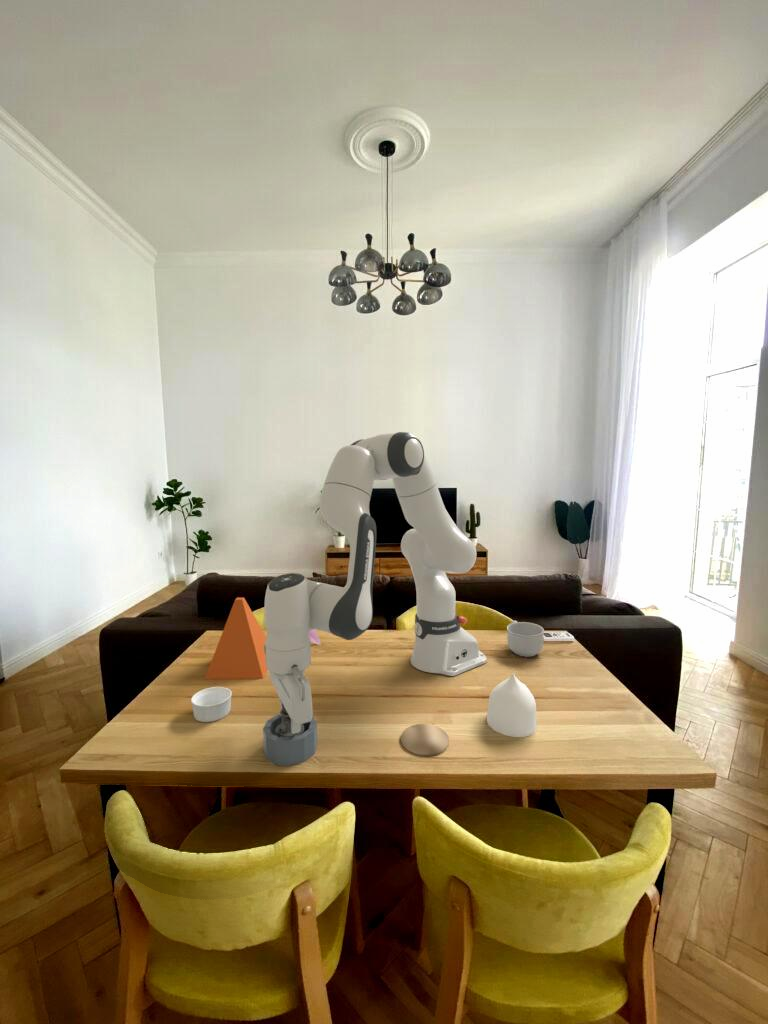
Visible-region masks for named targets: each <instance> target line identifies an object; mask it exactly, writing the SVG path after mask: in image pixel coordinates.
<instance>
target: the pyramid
mask: <svg viewBox="0 0 768 1024" xmlns="http://www.w3.org/2000/svg"><path fill="white" fill-rule="evenodd" d="M266 638H267V635H266V634H265V632H264V631H263V629H262V628H261V625H260V624H259V622H258V620H257V618H256V617H255V614H254V613H253V612H252V609H251V608H250V606H249V604H248V602H247V600H246V599H245V597H236V598H235V600H234V602H233V604H232V607H231V609H230V612H229V615H228V617H227V620H226V622H225V625H224V628H223V631H222V633H221V636H220V637H219V640H218V644H217V645H216V649H215V651H214V654H213V657H212V659H211V661H210V665H209V666H208V670H207V672H206V675H205V678H204V680H239V679H240V680H243V679H245V680H247V679H250V680H251V679H252V680H253V679H260V680H261V679H264V677H265V675H266V673H267V671H268V669H267V668H266V654H265V651H264V643H265V642H266Z"/></svg>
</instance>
